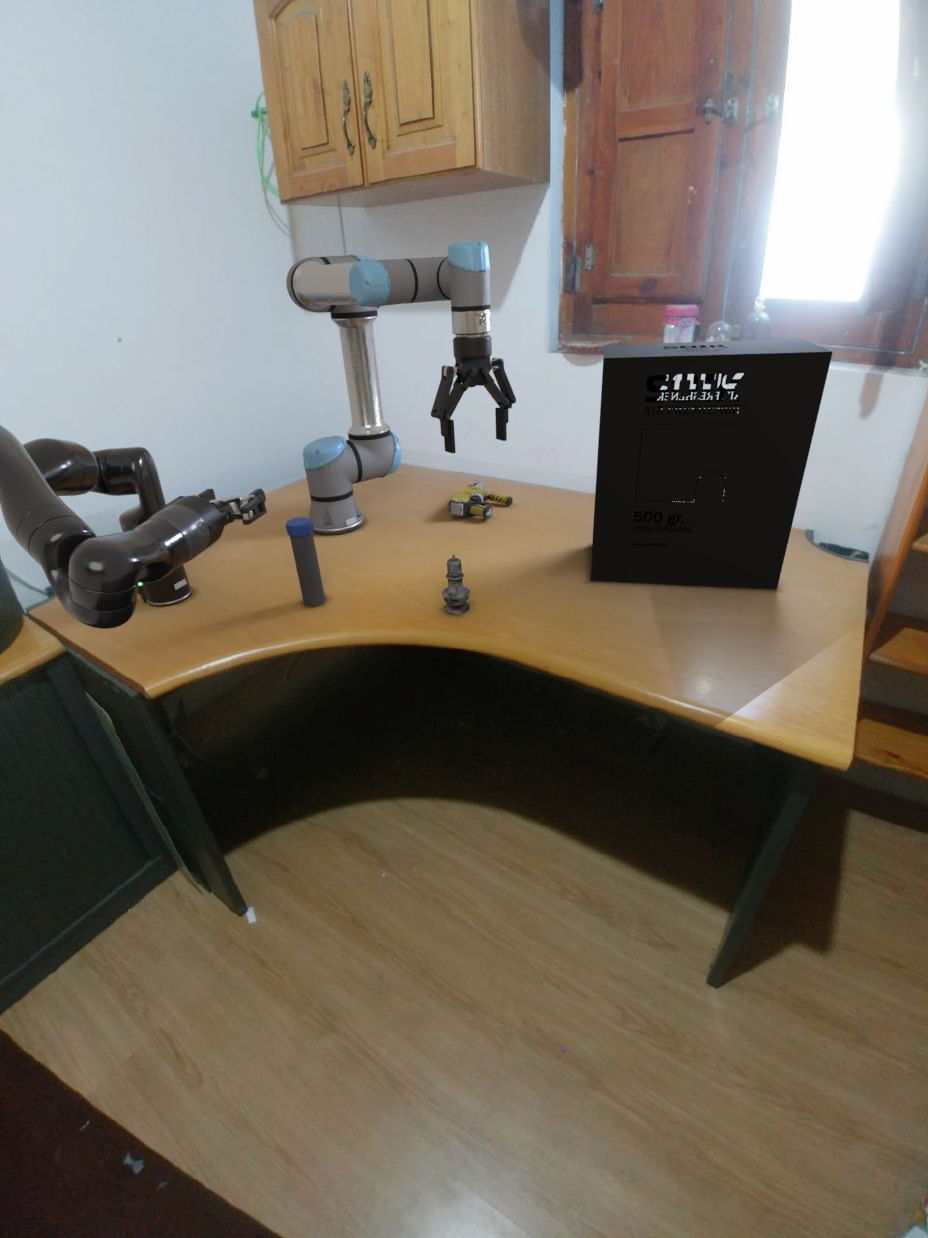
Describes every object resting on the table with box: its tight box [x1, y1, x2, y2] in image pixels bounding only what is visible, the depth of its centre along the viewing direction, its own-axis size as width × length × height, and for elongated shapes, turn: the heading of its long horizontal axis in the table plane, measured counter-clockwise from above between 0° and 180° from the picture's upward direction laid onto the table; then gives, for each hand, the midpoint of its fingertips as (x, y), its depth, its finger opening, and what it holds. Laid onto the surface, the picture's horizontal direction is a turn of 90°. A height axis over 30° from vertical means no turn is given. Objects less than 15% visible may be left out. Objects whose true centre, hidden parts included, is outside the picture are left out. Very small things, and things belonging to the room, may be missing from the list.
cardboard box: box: [589, 338, 834, 590], centre depth 125 cm, size 38×20×45 cm, turn 78°
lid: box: [285, 516, 314, 537], centre depth 121 cm, size 5×5×2 cm
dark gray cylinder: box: [289, 532, 326, 608], centre depth 126 cm, size 5×5×18 cm
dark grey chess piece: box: [441, 553, 471, 615], centre depth 121 cm, size 6×6×12 cm
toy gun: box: [447, 479, 514, 521], centre depth 175 cm, size 5×24×15 cm
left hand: (237, 494), depth 98 cm, fingers open, 8 cm apart
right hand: (476, 445), depth 127 cm, fingers open, 13 cm apart
